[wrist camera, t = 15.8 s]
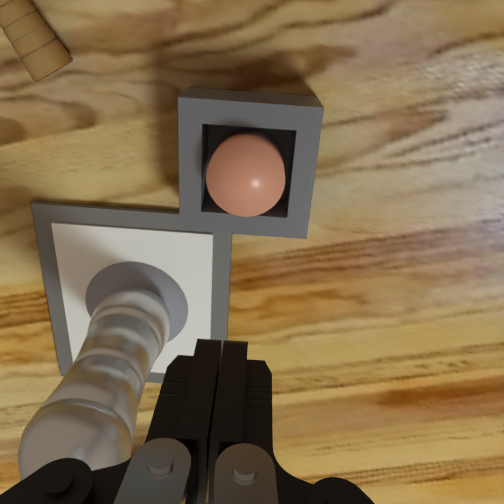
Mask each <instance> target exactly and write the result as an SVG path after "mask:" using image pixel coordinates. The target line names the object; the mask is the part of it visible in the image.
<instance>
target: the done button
mask: <svg viewBox="0 0 504 504" xmlns="http://www.w3.org/2000/svg"><path fill="white" fill-rule="evenodd" d="M206 183H207V188H208V191H209V193H210V195H211V197H212V199H213V200H214V201H215V203H216V204H217V205H218V206H219V207H220V208H222V209H223V210H225V211H226V212H228V213H230V214H233V215H236V216H242V217H250V216H256V215H260V214H262V213H264V212H266V211H268V210H269V209H271V208H272V207H273V206H274V205H275V204H276V203H277V202H278V200H279V199H280V197H281V195H282V193H283V190H284V186H285V171H284V162H283V156H282V153H281V151H280V149H279V147H278V146H277V144H276V143H275V142H274V141H273V140H272V139H271V138H270V137H268V136H267V135H265V134H263V133H261V132H258V131H254V130H240V131H236V132H233V133H231V134H229V135H228V136H226V137H225V138H224V139H222V140H221V141H220V143H219V144H218V145H217V147H216V149H215V151H214V153H213V155H212V158H211V160H210V163H209V165H208V168H207V173H206Z"/></svg>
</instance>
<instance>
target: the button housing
mask: <svg viewBox="0 0 504 504" xmlns="http://www.w3.org/2000/svg"><path fill="white" fill-rule="evenodd" d="M323 110H324V107H323V105H322V104H321V102H320V101H319V99H318V97H317V96H305V95H291V94H277V93H263V92H249V91H235V90H221V89H208V88H194V87H189V88H188V89H187V90H186V91H184V92H183V93H182V94H181V95H180V96H179V97H178V144H179V225H180V230H189V231H203V232H217V233H231V234H245V235H259V236H273V237H287V238H301V239H306V238H307V230H308V223H309V215H310V208H311V200H312V193H313V185H314V178H315V170H316V163H317V155H318V148H319V140H320V133H321V125H322V118H323ZM240 130H254V131H258V132H261V133H263V134H265V135H267V136H268V137H270V138H271V139H272V140H273V141H274V142H275V143H276V144H277V146H278V147H279V149H280V151H281V153H282V156H283V162H284V171H285V186H284V190H283V193H282V195H281V197H280V199H279V200H278V202H277V203H276V204H275V205H274V206H273V207H272V208H271V209H269V210H268V211H266V212H264V213H262V214H260V215H256V216H250V217H242V216H236V215H233V214H230V213H228V212H226V211H225V210H223V209H222V208H220V207H219V206H218V205H217V204H216V203H215V201H214V200H213V199H212V197H211V195H210V193H209V191H208V188H207V183H206V173H207V168H208V165H209V163H210V160H211V158H212V155H213V153H214V151H215V149H216V147H217V145H218V144H219V143H220V141H221V140H222V139H224V138H225V137H226V136H228V135H229V134H231V133H233V132H236V131H240Z"/></svg>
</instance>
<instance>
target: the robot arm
mask: <svg viewBox="0 0 504 504" xmlns="http://www.w3.org/2000/svg"><path fill="white" fill-rule="evenodd" d="M247 347H248V342H243V341H228V340H224V342H223V349H222V340H212V339H197V342H196V346H195V351H194V355H193V356H188V355H177V356H176V357H175V359H174V360H173V361H172V362H171V363H170V364H169V365H168V366H167V369H166V373H165V376H164V379H163V384H162V386H161V390H160V395H159V397H158V400H157V404H156V407H155V410H154V414H153V417H152V421H151V424H150V428H149V431H148V435H147V438H146V441H145V443H144V444H143V445H142V446H141V447H139V448H138V449H137V450H136V452H135V453H134V455H133V456H132V457H131V458H130V459H128V460H127V461H125V462H123V463H120V464H118V465H114V466H110V467H106V468H101V469H97V470H93V471H91V468H90V467H89V466H88V464H86V463H85V462H84V461H82V460H80V459H76V458H62V459H57V460H54V461H52V462H50V463H47V464H46V465H44V466H42V467H41V468H39V469H38V470H37V471H35V472H34V473H32V474H31V475H29V476H28V477H26V478H25V479H23V480H22V481H20V482H19V483H17V484H16V485H14V486H13V487H11V488H10V489H8V490H7V491H5V492H4V493H3V494H1V495H0V504H206V496H207V489H208V481H209V492H208V504H375V503H374V502H373V501H372V500H371V499H370V498H369V497H368V496H367V495H366V494H365V493H364V492H363V491H362V490H361V489H360V488H359V487H357V486H356V485H355V484H353V483H352V482H350V481H348V480H345V479H342V478H337V477H329V478H324V479H321V480H319V481H318V482H316V483H315V484H314V485H313V484H311V483H308V482H306V481H303V480H301V479H298V478H296V477H294V476H292V475H290V474H289V473H287V472H286V471H285V470H284V469H283V468H282V467H281V466H280V465H279V463H278V462H277V460H276V458H275V456H274V453H273V440H272V373H271V372H270V370H269V368H268V366H267V364H266V363H265V361H261V360H247Z"/></svg>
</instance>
